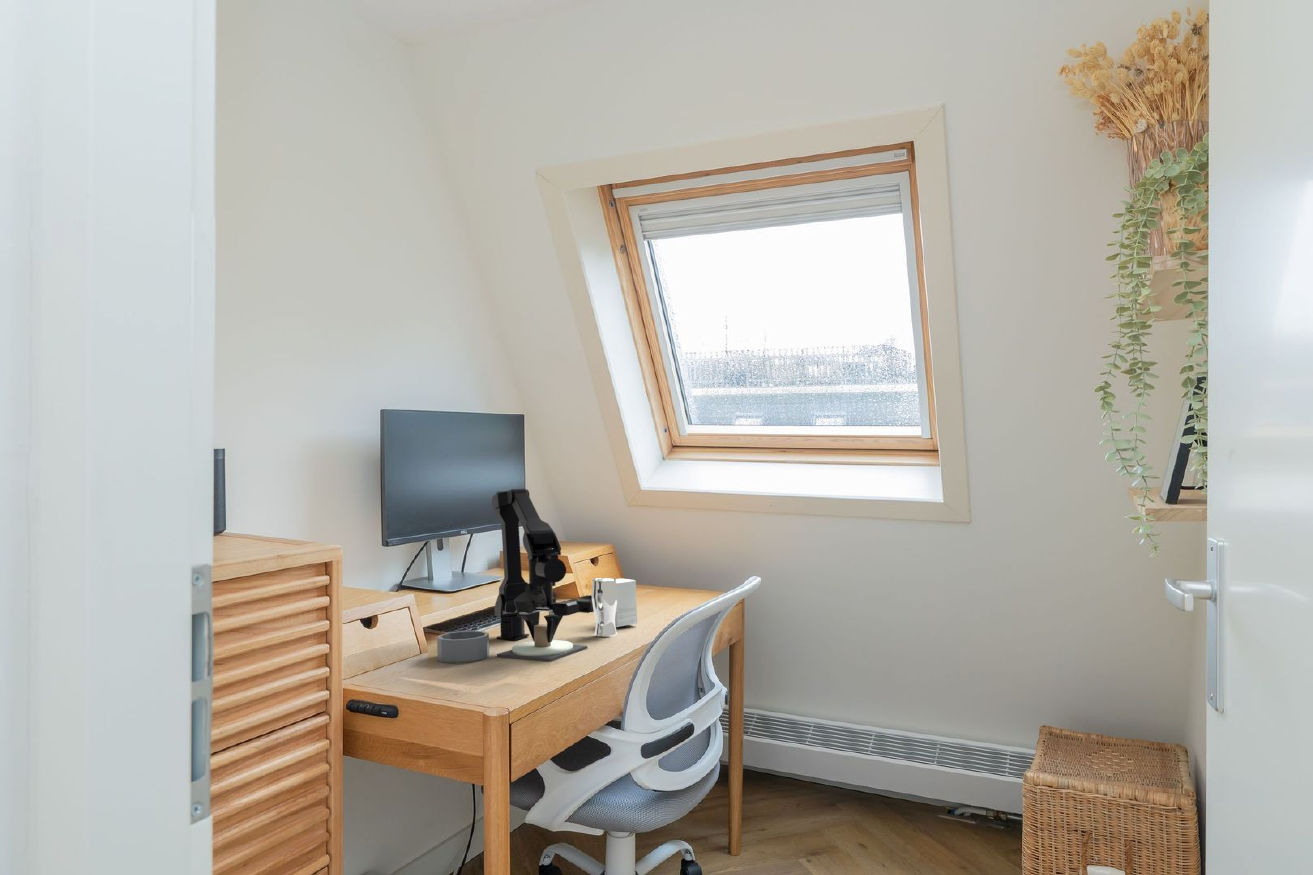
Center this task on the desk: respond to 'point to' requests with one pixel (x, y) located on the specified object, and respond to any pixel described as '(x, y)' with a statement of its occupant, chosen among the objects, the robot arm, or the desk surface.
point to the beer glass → (604, 606)
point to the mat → (543, 658)
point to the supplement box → (626, 603)
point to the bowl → (463, 646)
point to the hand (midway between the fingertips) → (542, 641)
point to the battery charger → (584, 603)
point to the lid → (542, 645)
